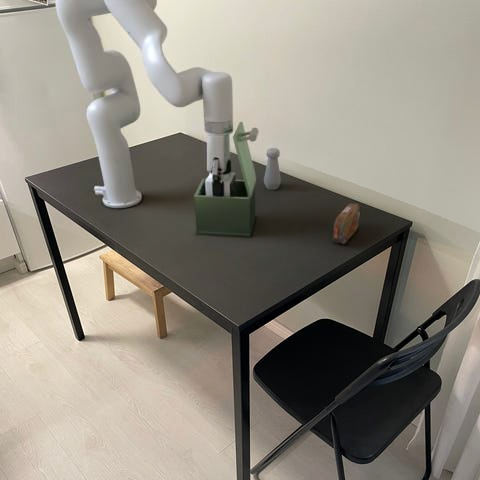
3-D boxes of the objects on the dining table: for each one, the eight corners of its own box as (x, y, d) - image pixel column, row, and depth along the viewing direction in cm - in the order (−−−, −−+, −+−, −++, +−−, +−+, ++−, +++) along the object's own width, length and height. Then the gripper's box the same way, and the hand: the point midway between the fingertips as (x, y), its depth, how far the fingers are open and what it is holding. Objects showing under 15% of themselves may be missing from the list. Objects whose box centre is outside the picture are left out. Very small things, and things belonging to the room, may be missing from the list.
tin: (340, 249, 133) (343, 221, 127) (329, 246, 134) (332, 218, 129) (360, 226, 143) (364, 199, 137) (350, 223, 144) (353, 197, 139)
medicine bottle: (230, 206, 136) (229, 165, 129) (206, 204, 138) (203, 163, 130) (236, 195, 142) (235, 155, 134) (212, 193, 143) (210, 153, 135)
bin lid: (232, 137, 122) (252, 133, 120) (239, 122, 131) (258, 117, 130) (248, 197, 131) (267, 193, 130) (253, 179, 141) (271, 175, 139)
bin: (196, 234, 141) (193, 196, 133) (205, 214, 150) (202, 178, 143) (250, 237, 139) (249, 198, 132) (255, 217, 148) (255, 180, 141)
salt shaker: (261, 189, 164) (261, 151, 156) (266, 182, 168) (267, 145, 160) (277, 191, 162) (278, 153, 154) (282, 185, 166) (284, 147, 158)
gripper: (210, 114, 134) (213, 176, 145) (197, 136, 120) (201, 202, 131) (237, 115, 133) (238, 177, 144) (227, 137, 119) (229, 203, 131)
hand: (220, 188), depth 138 cm, fingers closed on medicine bottle, 7 cm apart
